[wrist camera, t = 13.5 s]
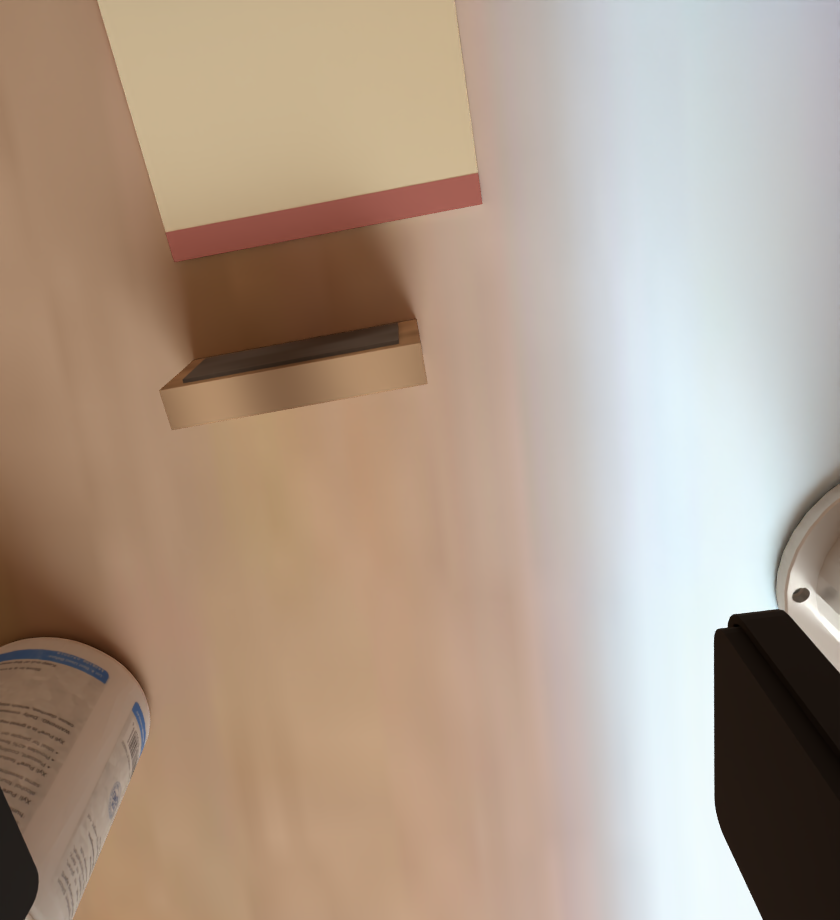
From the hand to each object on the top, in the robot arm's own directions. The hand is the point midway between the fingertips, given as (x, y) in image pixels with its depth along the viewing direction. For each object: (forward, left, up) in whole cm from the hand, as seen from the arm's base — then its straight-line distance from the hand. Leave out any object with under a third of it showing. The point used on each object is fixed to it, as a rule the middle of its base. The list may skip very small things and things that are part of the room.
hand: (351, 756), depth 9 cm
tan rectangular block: (+3, 0, -24) cm, 24 cm away
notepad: (+1, -13, -24) cm, 28 cm away
